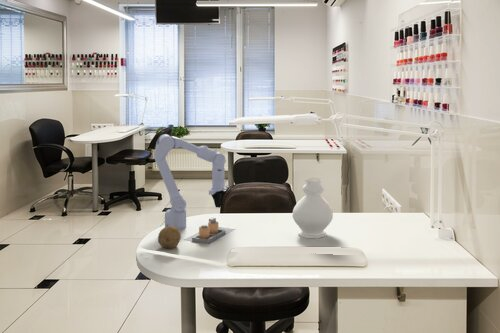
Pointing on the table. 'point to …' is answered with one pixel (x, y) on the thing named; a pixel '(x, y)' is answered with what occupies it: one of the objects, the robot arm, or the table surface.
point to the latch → (212, 219)
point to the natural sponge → (169, 237)
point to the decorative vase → (312, 210)
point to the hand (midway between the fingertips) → (218, 206)
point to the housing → (212, 238)
